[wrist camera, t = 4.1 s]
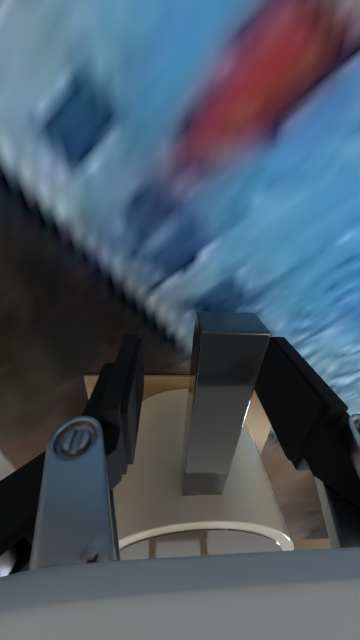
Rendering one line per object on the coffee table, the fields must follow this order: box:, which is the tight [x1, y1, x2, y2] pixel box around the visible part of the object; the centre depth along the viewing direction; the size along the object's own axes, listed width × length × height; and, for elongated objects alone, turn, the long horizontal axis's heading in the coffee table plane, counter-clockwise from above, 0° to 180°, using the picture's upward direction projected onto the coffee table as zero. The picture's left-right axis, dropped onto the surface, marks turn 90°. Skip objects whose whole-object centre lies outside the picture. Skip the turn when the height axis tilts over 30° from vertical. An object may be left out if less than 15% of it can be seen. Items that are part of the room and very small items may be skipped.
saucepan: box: [113, 312, 294, 561], centre depth 12 cm, size 18×10×7 cm, turn 177°
